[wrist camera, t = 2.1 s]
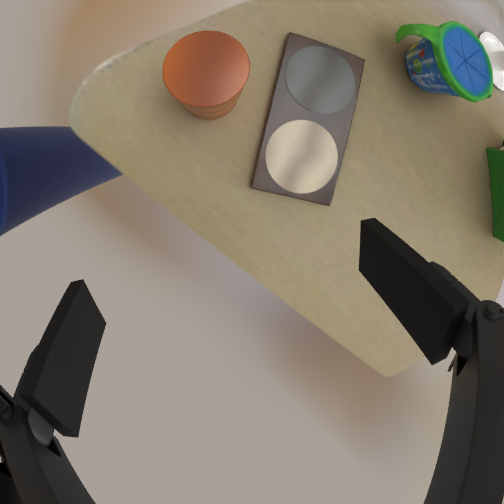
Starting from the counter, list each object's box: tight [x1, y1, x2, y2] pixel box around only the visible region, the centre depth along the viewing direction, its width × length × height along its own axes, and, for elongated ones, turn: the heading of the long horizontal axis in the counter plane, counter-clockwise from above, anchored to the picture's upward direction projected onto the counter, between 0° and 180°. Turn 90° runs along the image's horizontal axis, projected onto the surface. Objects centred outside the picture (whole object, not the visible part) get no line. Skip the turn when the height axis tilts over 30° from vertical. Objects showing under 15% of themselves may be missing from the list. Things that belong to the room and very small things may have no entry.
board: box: [250, 32, 365, 206], centre depth 31 cm, size 10×20×1 cm, turn 167°
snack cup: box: [395, 21, 493, 102], centre depth 25 cm, size 16×10×10 cm
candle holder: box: [479, 32, 504, 91], centre depth 27 cm, size 12×12×4 cm
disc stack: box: [162, 31, 250, 120], centre depth 24 cm, size 6×6×13 cm
